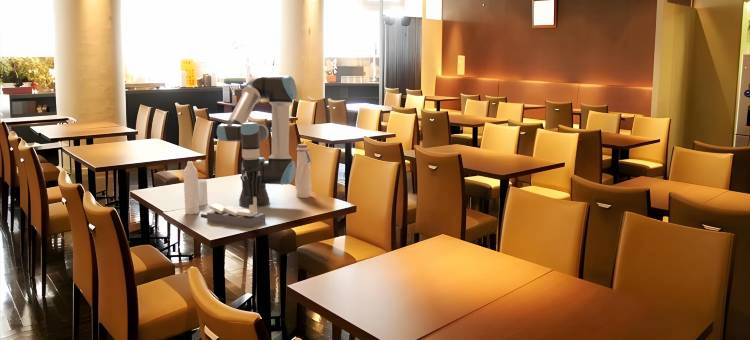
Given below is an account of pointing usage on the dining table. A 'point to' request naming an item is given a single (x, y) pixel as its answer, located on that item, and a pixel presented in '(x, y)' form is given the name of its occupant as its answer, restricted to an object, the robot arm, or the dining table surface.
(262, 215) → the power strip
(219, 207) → the rocker
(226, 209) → the rocker
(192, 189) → the water bottle
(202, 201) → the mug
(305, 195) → the water bottle
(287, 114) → the robot arm
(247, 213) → the rocker
